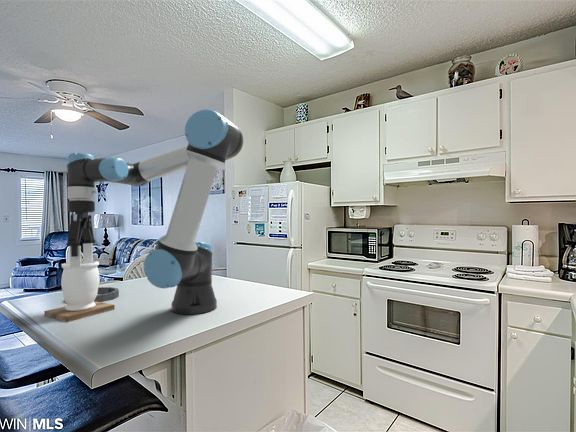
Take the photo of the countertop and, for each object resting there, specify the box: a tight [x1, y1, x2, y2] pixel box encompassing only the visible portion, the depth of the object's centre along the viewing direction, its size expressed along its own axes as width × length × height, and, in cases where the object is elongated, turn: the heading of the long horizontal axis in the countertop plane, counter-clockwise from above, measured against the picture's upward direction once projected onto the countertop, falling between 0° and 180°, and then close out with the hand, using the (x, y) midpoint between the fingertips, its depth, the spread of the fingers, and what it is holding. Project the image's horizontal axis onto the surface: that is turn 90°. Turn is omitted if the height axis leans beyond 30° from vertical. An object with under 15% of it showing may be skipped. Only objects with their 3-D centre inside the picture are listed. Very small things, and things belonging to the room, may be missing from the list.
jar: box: [60, 260, 100, 311], centre depth 106 cm, size 11×10×15 cm
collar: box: [94, 286, 120, 303], centre depth 125 cm, size 16×16×2 cm
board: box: [43, 301, 116, 323], centre depth 106 cm, size 13×15×2 cm
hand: (82, 264), depth 106 cm, fingers open, 13 cm apart
